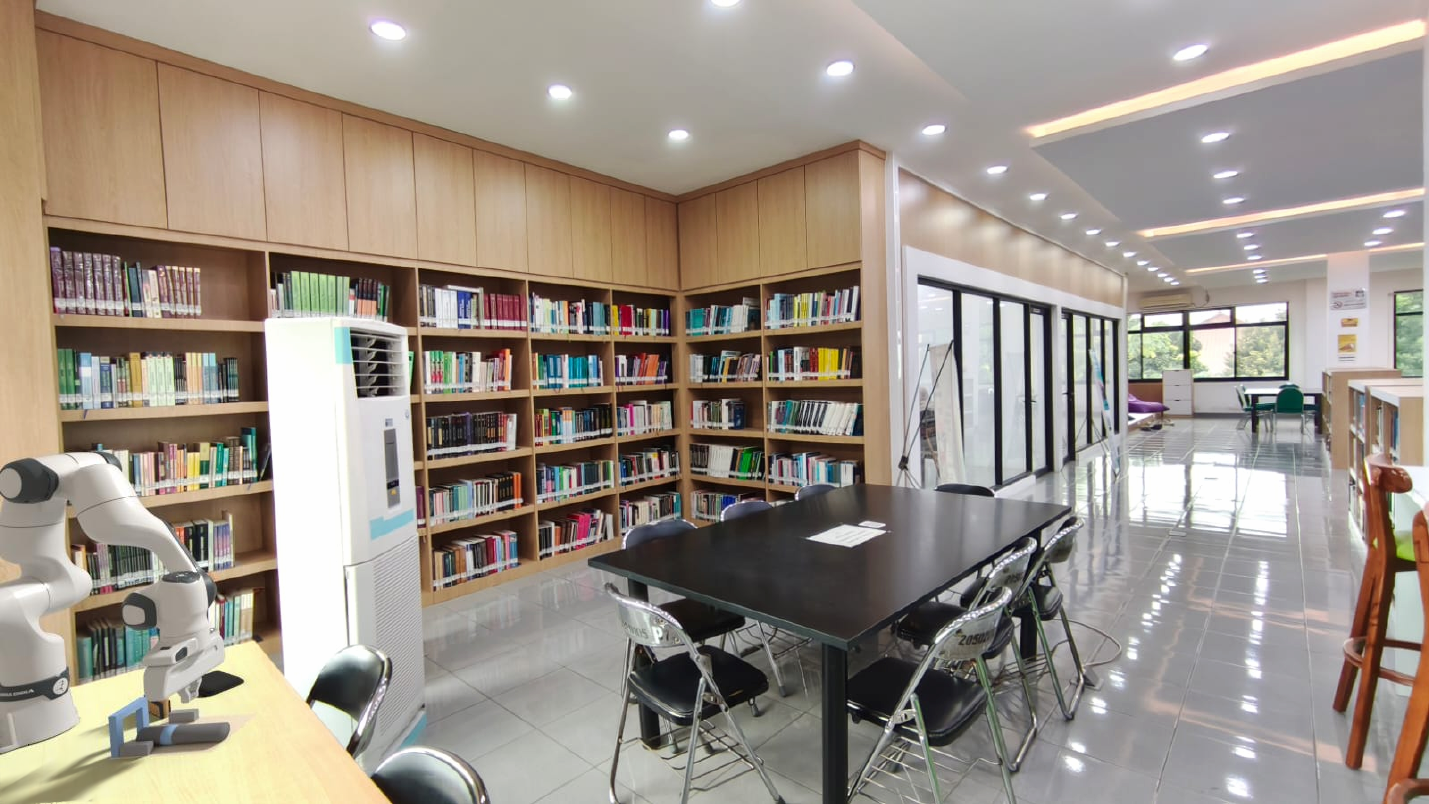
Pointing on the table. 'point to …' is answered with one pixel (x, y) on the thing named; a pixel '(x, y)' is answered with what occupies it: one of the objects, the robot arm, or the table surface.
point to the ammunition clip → (160, 708)
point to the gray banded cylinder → (184, 733)
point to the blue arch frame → (117, 723)
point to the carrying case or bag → (217, 683)
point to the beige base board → (186, 718)
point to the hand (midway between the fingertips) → (189, 700)
